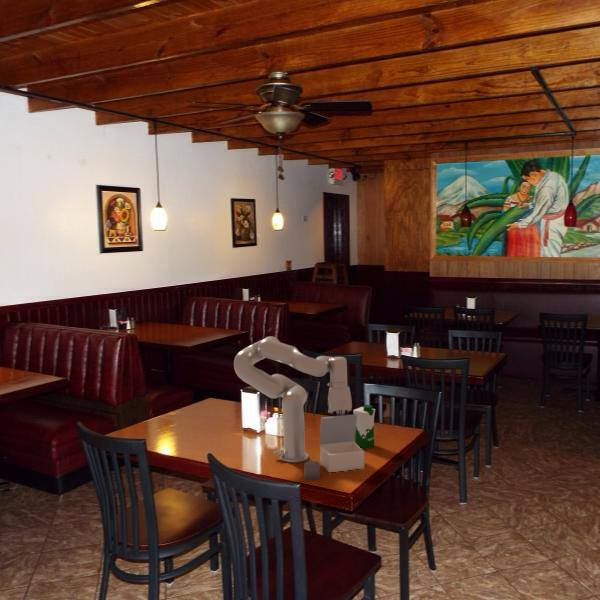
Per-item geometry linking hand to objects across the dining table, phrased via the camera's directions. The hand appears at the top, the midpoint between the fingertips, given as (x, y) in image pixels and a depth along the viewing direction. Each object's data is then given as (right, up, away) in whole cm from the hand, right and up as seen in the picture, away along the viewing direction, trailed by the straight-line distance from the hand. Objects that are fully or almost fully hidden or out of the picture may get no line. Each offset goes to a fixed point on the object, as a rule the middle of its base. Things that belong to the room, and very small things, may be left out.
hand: (340, 424), depth 276 cm
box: (0, -17, -4) cm, 18 cm away
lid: (-1, -2, -2) cm, 3 cm away
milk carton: (+13, -15, +20) cm, 28 cm away
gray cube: (-13, -19, -17) cm, 28 cm away
